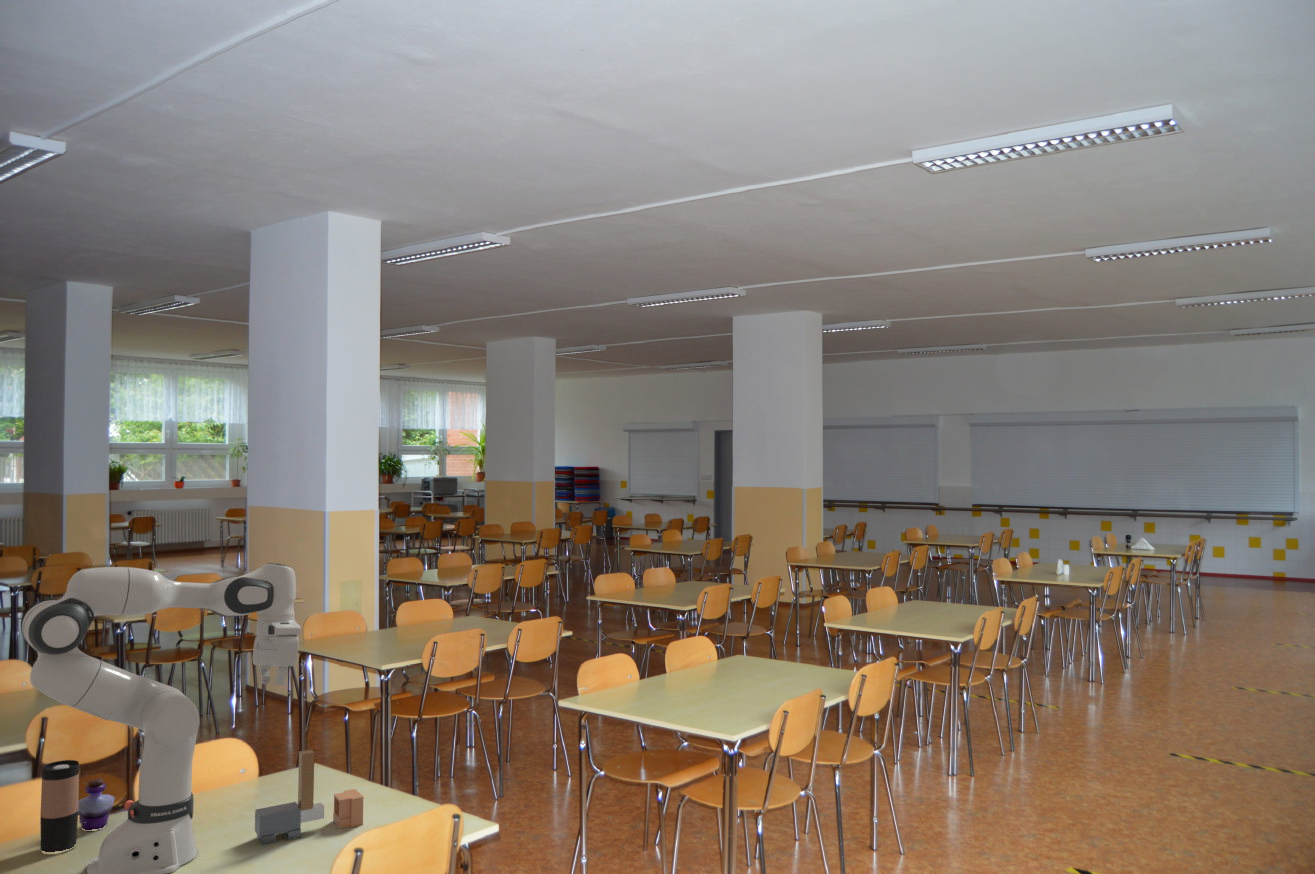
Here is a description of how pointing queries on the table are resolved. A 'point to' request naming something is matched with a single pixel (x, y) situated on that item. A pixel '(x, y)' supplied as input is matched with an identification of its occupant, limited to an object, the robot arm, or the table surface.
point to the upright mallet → (308, 788)
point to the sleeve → (278, 822)
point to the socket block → (348, 809)
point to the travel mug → (59, 805)
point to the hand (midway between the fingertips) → (272, 684)
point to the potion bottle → (95, 806)
